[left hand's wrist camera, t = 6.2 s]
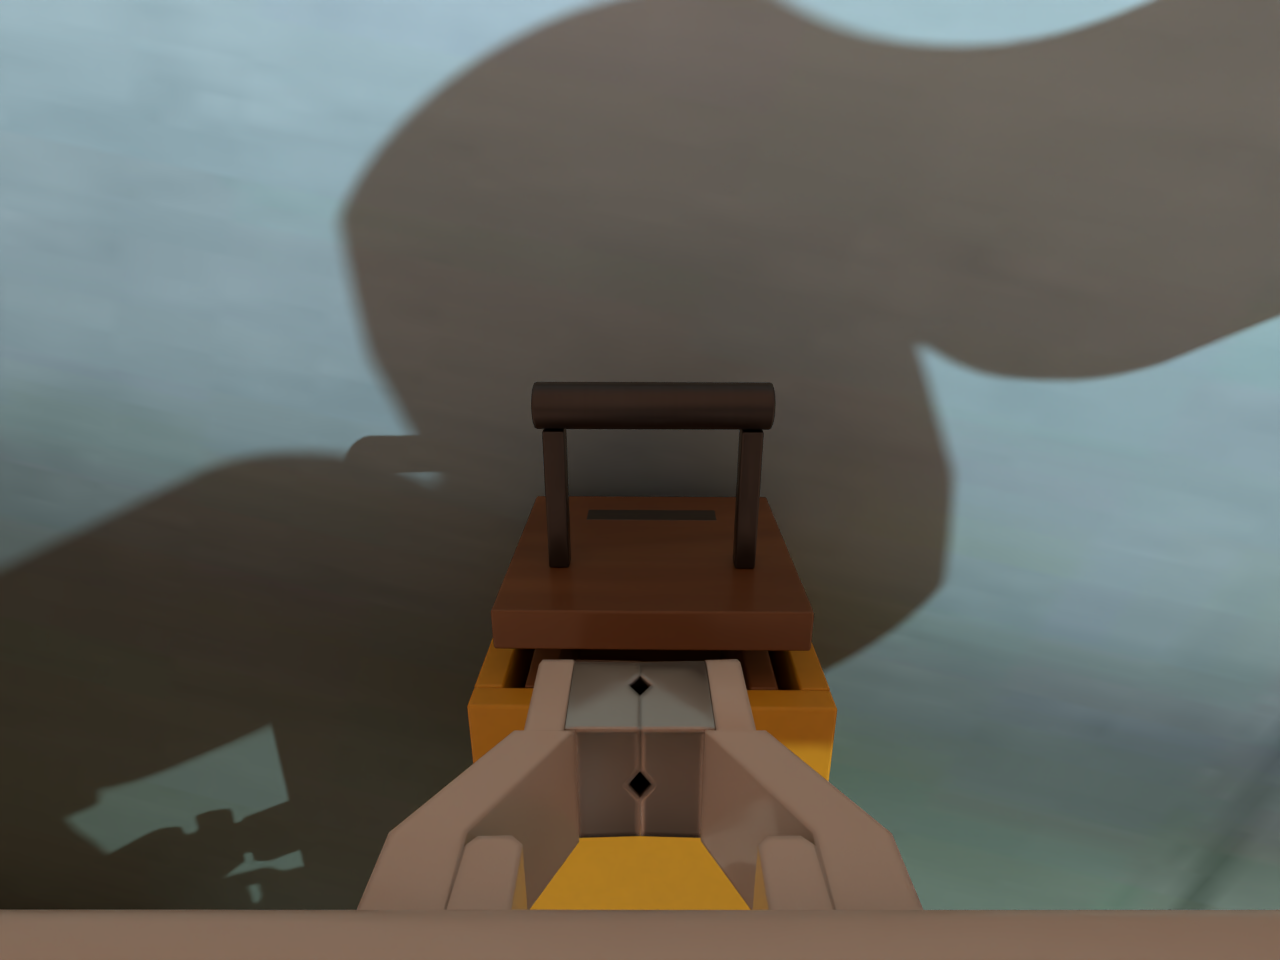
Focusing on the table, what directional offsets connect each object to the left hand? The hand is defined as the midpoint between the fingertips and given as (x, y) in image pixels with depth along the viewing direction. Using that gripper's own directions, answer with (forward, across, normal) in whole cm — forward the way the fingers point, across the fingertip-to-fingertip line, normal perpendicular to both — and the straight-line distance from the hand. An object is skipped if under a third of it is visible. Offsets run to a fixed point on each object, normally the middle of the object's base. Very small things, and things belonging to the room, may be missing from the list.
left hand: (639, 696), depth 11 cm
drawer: (+15, 0, -7) cm, 16 cm away
